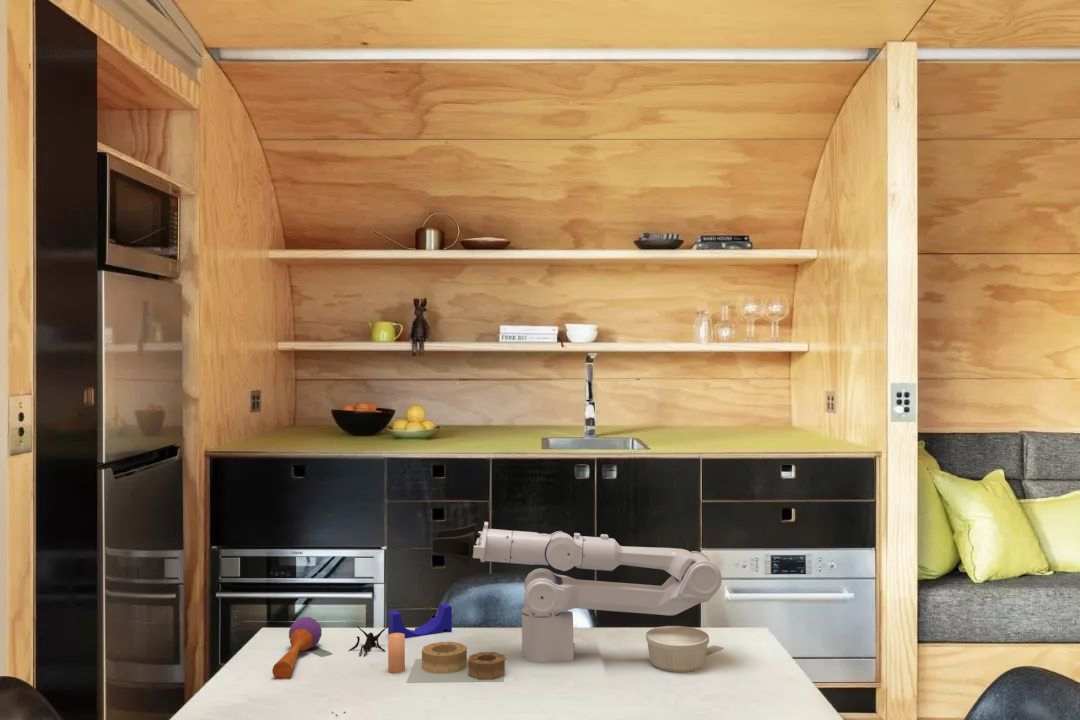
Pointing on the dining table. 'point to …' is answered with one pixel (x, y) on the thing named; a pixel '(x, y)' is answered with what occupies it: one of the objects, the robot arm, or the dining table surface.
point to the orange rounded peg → (396, 653)
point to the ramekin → (677, 648)
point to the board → (442, 675)
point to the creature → (369, 642)
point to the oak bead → (444, 657)
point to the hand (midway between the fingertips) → (435, 540)
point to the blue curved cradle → (431, 627)
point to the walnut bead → (486, 665)
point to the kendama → (297, 645)
